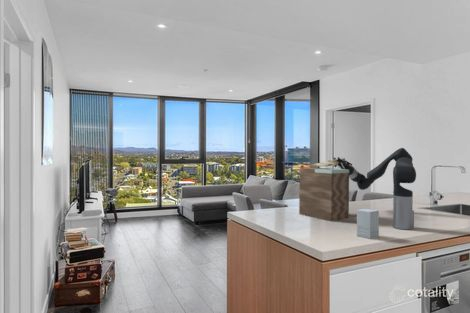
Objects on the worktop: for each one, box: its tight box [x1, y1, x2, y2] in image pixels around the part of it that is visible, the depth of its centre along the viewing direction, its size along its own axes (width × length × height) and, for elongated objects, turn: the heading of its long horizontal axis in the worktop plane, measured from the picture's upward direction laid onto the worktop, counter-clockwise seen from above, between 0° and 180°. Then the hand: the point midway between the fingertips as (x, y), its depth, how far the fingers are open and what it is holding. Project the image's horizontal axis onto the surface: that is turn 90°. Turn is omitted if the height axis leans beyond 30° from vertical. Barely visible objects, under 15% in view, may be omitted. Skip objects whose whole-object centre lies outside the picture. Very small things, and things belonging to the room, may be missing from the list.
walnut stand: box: [298, 167, 350, 222], centre depth 204 cm, size 16×26×30 cm, turn 33°
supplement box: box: [356, 208, 380, 240], centre depth 154 cm, size 7×7×13 cm
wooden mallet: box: [310, 157, 346, 168], centre depth 209 cm, size 25×11×2 cm, turn 124°
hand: (335, 158), depth 211 cm, fingers closed on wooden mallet, 3 cm apart
